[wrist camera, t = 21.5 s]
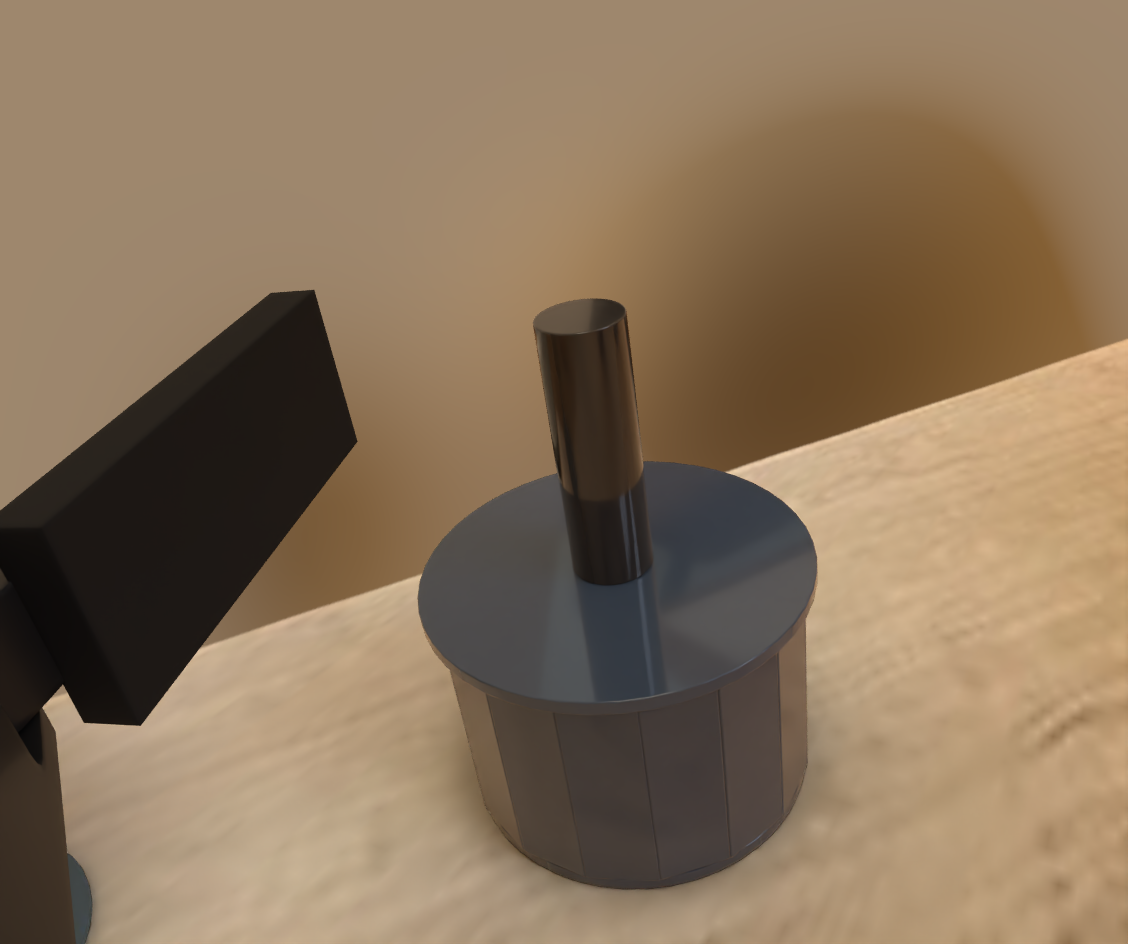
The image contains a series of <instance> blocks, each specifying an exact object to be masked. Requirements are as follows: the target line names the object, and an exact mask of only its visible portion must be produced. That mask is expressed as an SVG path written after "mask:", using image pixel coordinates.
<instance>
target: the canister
mask: <svg viewBox="0 0 1128 944" xmlns="http://www.w3.org/2000/svg"><path fill="white" fill-rule="evenodd" d="M450 673H451V677H452V680H453V684H454V688H455V692H456V696H457V700H458V703H459V707H460V711H461V715H462V719H463V723H464V727H465V730H466V734H467V738H468V742H469V746H470V750H471V753H472V757H473V761H474V765H475V769H476V773H477V777H478V780H479V784H480V788H481V792H482V796H483V800H484V803H485V806H486V809H487V810H488V811H489V812H490V814H491V816H492V818H493V820H494V822H495V823H496V825H497V826H498V827H499V829H500V830H501V831H502V833H503V834H504V835H505V837H506V838H507V839H508V840H509V841H510V842H511V843H512V844H513V845H514V846H515V847H516V848H517V849H518V850H519V851H520V852H522V853H523V854H524V855H526V856H527V857H529V858H530V859H531V860H533V861H534V862H536V863H537V864H539V865H541V866H543V867H545V868H546V869H548V870H550V871H552V872H554V873H556V874H559V875H561V876H564V877H567V878H570V879H572V880H575V881H578V882H583V883H587V884H591V885H596V886H600V887H610V888H619V889H650V888H658V887H666V886H673V885H677V884H681V883H685V882H689V881H693V880H697V879H700V878H703V877H705V876H708V875H710V874H713V873H716V872H718V871H721V870H722V869H724V868H726V867H728V866H730V865H732V864H734V863H736V862H738V861H739V860H741V859H742V858H744V857H745V856H747V855H748V854H750V853H751V852H752V851H754V850H755V849H757V848H758V847H759V846H760V845H761V844H762V843H763V842H764V841H766V840H767V839H768V838H769V837H770V836H771V835H772V834H773V833H774V832H775V831H776V829H777V828H778V827H779V826H780V824H781V823H782V822H783V821H784V819H785V818H786V817H787V815H788V813H789V812H790V810H791V808H792V806H793V805H794V803H795V801H796V799H797V796H798V794H799V791H800V788H801V785H802V782H803V777H804V772H805V769H806V767H807V763H808V759H807V685H806V619H805V620H804V622H803V623H802V625H801V626H800V628H799V629H798V631H797V632H796V634H795V635H794V636H793V637H792V638H791V639H790V641H789V642H788V643H787V644H786V645H785V646H784V647H783V648H782V649H781V650H780V651H779V652H778V653H777V654H775V655H774V656H773V657H772V658H770V659H769V660H768V661H767V662H765V663H764V664H763V665H762V666H760V667H759V668H757V669H756V670H754V671H752V672H751V673H749V674H747V675H746V676H744V677H742V678H741V679H739V680H738V681H736V682H734V683H731V684H729V685H727V686H725V687H723V688H721V689H718V690H716V691H714V692H712V693H709V694H706V695H704V696H701V697H698V698H695V699H692V700H689V701H686V702H683V703H679V704H675V705H671V706H666V707H662V708H658V709H653V710H647V711H640V712H632V713H625V714H610V715H576V714H560V713H553V712H547V711H541V710H535V709H530V708H526V707H523V706H519V705H516V704H512V703H508V702H505V701H503V700H500V699H498V698H495V697H493V696H491V695H488V694H486V693H483V692H481V691H480V690H478V689H476V688H475V687H473V686H471V685H470V684H468V683H466V682H464V681H463V680H462V679H460V678H459V677H458V676H457V675H456V674H454V673H453V672H452V671H451V670H450Z"/></svg>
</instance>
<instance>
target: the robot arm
mask: <svg viewBox="0 0 1128 944" xmlns="http://www.w3.org/2000/svg"><path fill="white" fill-rule="evenodd" d="M356 443H357V438H356V435H355V431H354V428H353V424H352V421H351V417H350V414H349V410H348V407H347V403H346V400H345V397H344V393H343V389H342V386H341V382H340V379H339V376H338V372H337V368H336V365H335V361H334V358H333V355H332V351H331V347H330V344H329V340H328V337H327V333H326V330H325V326H324V323H323V319H322V316H321V312H320V309H319V305H318V302H317V298H316V295H315V291H314V290H307V291H292V292H280V293H279V292H278V293H270V294H269V295H268V296H266V297H265V298H264V299H263V300H262V301H260V302H259V303H258V304H257V305H255V306H254V307H253V308H252V309H251V310H249V311H248V312H247V313H245V314H244V315H243V316H242V317H240V318H239V319H238V320H237V321H235V322H234V323H233V324H232V325H230V326H229V327H228V328H227V329H226V330H224V331H223V332H222V333H221V334H219V335H218V336H217V337H216V338H214V339H213V340H212V341H211V342H209V343H208V344H207V345H206V346H204V347H203V348H202V349H201V350H199V351H198V352H197V353H196V354H194V355H193V356H192V357H191V358H189V359H188V360H187V361H186V362H184V363H183V364H182V365H181V366H179V368H177V369H176V370H175V371H173V372H172V373H171V374H169V375H168V376H167V377H166V378H165V379H163V380H162V381H161V382H160V383H158V384H157V385H156V386H155V387H153V388H152V389H151V390H150V391H148V392H147V393H146V394H145V395H143V396H142V397H141V398H140V399H139V400H137V401H136V402H135V403H133V404H132V405H131V406H130V407H128V408H127V409H126V410H125V411H123V413H121V414H120V415H118V416H117V417H116V418H115V419H113V420H112V421H111V422H110V423H109V424H107V425H106V426H105V427H104V428H102V429H101V430H100V431H99V432H97V433H96V434H95V435H94V436H92V437H91V438H90V439H89V440H87V441H86V442H85V443H84V444H82V445H81V446H80V447H79V448H78V449H76V450H75V451H74V452H72V453H71V454H70V455H69V456H67V457H66V458H65V459H64V460H63V461H62V462H60V463H59V464H58V465H56V466H55V467H54V468H53V469H51V470H50V471H49V472H48V473H46V474H45V475H44V476H43V477H41V478H40V479H39V480H38V481H36V482H35V483H34V484H33V485H32V486H30V487H29V488H28V489H26V490H25V491H24V492H23V493H21V494H20V495H19V496H18V497H16V498H15V499H14V500H13V501H12V502H10V503H9V504H8V505H7V506H5V507H4V508H3V509H2V510H0V944H76V939H75V929H74V918H73V908H72V898H71V887H70V877H69V866H68V856H67V846H66V835H65V825H64V815H63V804H62V794H61V783H60V773H59V763H58V752H57V742H56V732H55V730H54V728H53V726H52V724H51V722H50V721H49V719H48V717H47V715H46V713H45V712H44V710H43V708H42V707H43V706H44V705H45V704H46V703H47V701H48V700H49V699H50V698H51V697H52V696H53V695H54V693H56V691H57V690H58V689H59V688H60V687H61V686H62V685H64V687H65V689H66V691H67V692H68V694H69V696H70V698H71V700H72V702H73V703H74V705H75V707H76V709H77V711H78V713H79V715H80V716H81V718H82V720H83V722H84V723H97V724H116V725H136V726H141V725H142V723H143V722H144V721H145V719H146V718H147V717H148V715H149V714H150V713H151V711H152V710H153V709H154V708H155V706H156V705H157V704H158V702H159V701H160V700H161V698H162V697H163V696H164V694H165V693H166V692H167V691H168V689H169V688H170V687H171V685H172V684H173V683H174V681H175V680H176V679H177V677H178V676H179V675H180V673H181V672H182V671H183V670H184V668H185V667H186V666H187V664H188V663H189V662H190V660H191V659H192V658H193V656H194V655H195V654H196V653H197V651H198V650H199V649H200V647H201V646H202V645H203V643H204V642H205V641H206V639H207V638H208V637H209V635H210V634H211V633H212V632H213V630H214V629H215V627H216V626H217V625H218V624H219V622H220V621H221V620H222V618H223V617H224V616H225V614H226V613H227V612H228V611H229V609H230V608H231V607H232V605H233V604H234V602H235V601H236V600H237V599H238V597H239V596H240V595H241V593H242V592H243V591H244V590H245V588H246V587H247V586H248V584H249V583H250V582H251V580H252V579H253V578H254V576H255V575H256V574H257V573H258V571H259V570H260V569H261V567H262V566H263V565H264V563H265V562H266V561H267V559H268V558H269V557H270V555H271V554H272V553H273V551H274V550H275V549H276V548H277V546H278V545H279V544H280V542H281V541H282V540H283V538H284V537H285V536H286V534H287V533H288V532H289V531H290V529H291V528H292V527H293V525H294V524H295V523H296V521H297V520H298V519H299V518H300V516H301V515H302V514H303V512H304V511H305V510H306V508H307V507H308V506H309V504H310V503H311V501H312V500H313V499H314V498H315V497H316V495H317V494H318V493H319V491H320V490H321V489H322V487H323V486H324V485H325V483H326V482H327V481H328V479H329V478H330V477H331V475H332V474H333V473H334V472H335V470H336V469H337V468H338V466H339V465H340V464H341V462H342V461H343V460H344V458H345V457H346V456H347V455H348V453H349V452H350V451H351V449H352V448H353V447H354V445H355V444H356Z"/></svg>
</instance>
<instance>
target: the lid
mask: <svg viewBox="0 0 1128 944" xmlns="http://www.w3.org/2000/svg"><path fill="white" fill-rule="evenodd" d="M533 327H534V333H535V340H536V345H537V352H538V358H539V364H540V370H541V376H542V382H543V389H544V394H545V400H546V407H547V413H548V419H549V425H550V431H551V438H552V443H553V450H554V456H555V461H556V468H557V473H556V474H553V475H549V476H546V477H543V478H540V479H537V480H534V481H532V482H529V483H526V484H523V485H521V486H519V487H517V488H515V489H512V490H510V491H508V492H505V493H504V494H502V495H500V496H498V497H496V498H494V499H492V500H491V501H489V502H487V503H486V504H484V505H483V506H481V507H479V508H478V509H477V510H475V511H474V512H472V513H471V514H469V515H468V516H467V517H466V518H464V519H463V520H462V521H461V522H459V523H458V524H457V525H456V526H455V527H454V528H453V529H452V530H451V531H450V532H449V533H448V534H447V535H446V536H445V537H444V538H443V539H442V541H441V542H440V543H439V545H438V546H437V547H436V549H435V550H434V551H433V553H432V555H431V556H430V558H429V560H428V562H427V564H426V566H425V568H424V571H423V574H422V577H421V580H420V584H419V591H418V609H419V616H420V619H421V623H422V626H423V629H424V633H425V636H426V639H427V640H428V642H429V644H430V646H431V648H432V649H433V651H434V653H435V654H436V655H437V656H438V658H439V659H440V660H441V661H442V662H443V663H444V665H445V666H446V667H447V668H448V669H449V670H451V671H452V672H453V673H454V674H456V675H457V676H458V677H459V678H460V679H462V680H463V681H464V682H466V683H468V684H470V685H471V686H473V687H475V688H476V689H478V690H480V691H481V692H483V693H486V694H488V695H491V696H493V697H495V698H498V699H500V700H503V701H505V702H508V703H512V704H516V705H519V706H523V707H526V708H530V709H535V710H541V711H547V712H553V713H560V714H576V715H610V714H625V713H632V712H640V711H647V710H653V709H658V708H662V707H666V706H671V705H675V704H679V703H683V702H686V701H689V700H692V699H695V698H698V697H701V696H704V695H706V694H709V693H712V692H714V691H716V690H718V689H721V688H723V687H725V686H727V685H729V684H731V683H734V682H736V681H738V680H739V679H741V678H742V677H744V676H746V675H747V674H749V673H751V672H752V671H754V670H756V669H757V668H759V667H760V666H762V665H763V664H764V663H765V662H767V661H768V660H769V659H770V658H772V657H773V656H774V655H775V654H777V653H778V652H779V651H780V650H781V649H782V648H783V647H784V646H785V645H786V644H787V643H788V642H789V641H790V639H791V638H792V637H793V636H794V635H795V634H796V632H797V631H798V629H799V628H800V626H801V625H802V623H803V622H804V620H805V619H806V617H807V615H808V613H809V610H810V608H811V606H812V603H813V601H814V597H815V592H816V588H817V555H816V551H815V547H814V543H813V540H812V538H811V536H810V534H809V532H808V530H807V528H806V526H805V525H804V524H803V522H802V521H801V520H800V518H799V517H798V516H797V514H796V513H795V512H794V511H793V510H792V509H790V508H789V507H788V506H787V505H786V504H785V503H784V502H783V501H782V500H780V499H779V498H777V497H776V496H774V495H773V494H772V493H770V492H769V491H767V490H765V489H763V488H761V487H759V486H758V485H756V484H754V483H752V482H749V481H747V480H744V479H742V478H740V477H737V476H735V475H731V474H728V473H725V472H721V471H718V470H714V469H710V468H705V467H700V466H695V465H687V464H679V463H671V462H653V461H647V462H646V461H645V462H643V456H642V448H641V438H640V430H639V420H638V411H637V402H636V393H635V384H634V375H633V366H632V357H631V348H630V339H629V330H628V321H627V311H626V309H625V307H624V306H623V305H622V304H620V303H618V302H616V301H612V300H607V299H581V300H573V301H568V302H564V303H561V304H557V305H554V306H552V307H549V308H547V309H545V310H544V311H542V312H540V313H539V314H538V315H537V316H536V317H535V319H534V321H533Z"/></svg>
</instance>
